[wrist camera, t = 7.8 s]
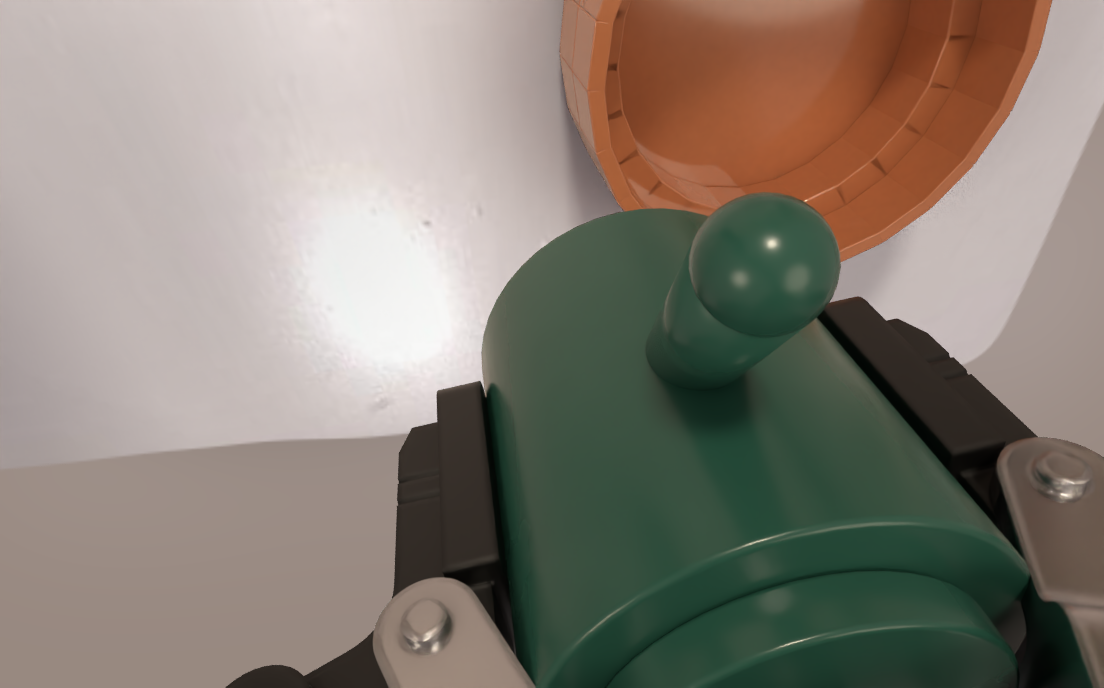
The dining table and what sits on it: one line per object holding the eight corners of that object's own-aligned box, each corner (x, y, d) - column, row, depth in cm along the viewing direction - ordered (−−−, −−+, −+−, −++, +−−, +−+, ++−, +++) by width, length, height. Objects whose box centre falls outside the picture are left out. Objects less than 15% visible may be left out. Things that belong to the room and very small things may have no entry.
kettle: (772, 477, 15) (1041, 954, 9) (528, 534, 15) (613, 1065, 9) (795, -8, 9) (1699, 321, 3) (396, 76, 9) (333, 641, 3)
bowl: (587, 249, 33) (618, 317, 28) (522, -169, 23) (550, -175, 18) (911, 173, 33) (996, 227, 28) (981, -268, 23) (1127, -299, 19)
